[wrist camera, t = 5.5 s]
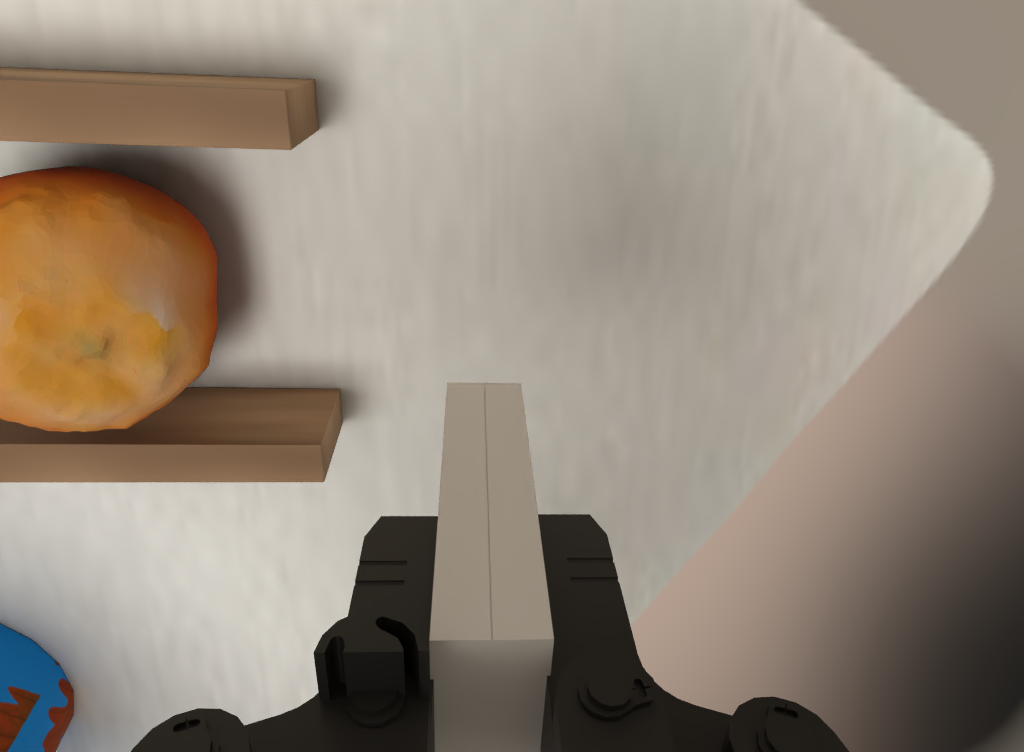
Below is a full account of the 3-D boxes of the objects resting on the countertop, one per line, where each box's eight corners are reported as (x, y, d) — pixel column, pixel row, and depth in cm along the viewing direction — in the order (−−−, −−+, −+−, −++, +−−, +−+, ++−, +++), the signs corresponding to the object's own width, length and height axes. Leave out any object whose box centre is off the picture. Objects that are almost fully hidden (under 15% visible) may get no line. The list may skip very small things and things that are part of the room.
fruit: (-100, 96, 20) (-117, 190, 15) (192, 146, 25) (258, 230, 20) (-85, 341, 23) (-95, 489, 18) (170, 343, 28) (221, 459, 23)
